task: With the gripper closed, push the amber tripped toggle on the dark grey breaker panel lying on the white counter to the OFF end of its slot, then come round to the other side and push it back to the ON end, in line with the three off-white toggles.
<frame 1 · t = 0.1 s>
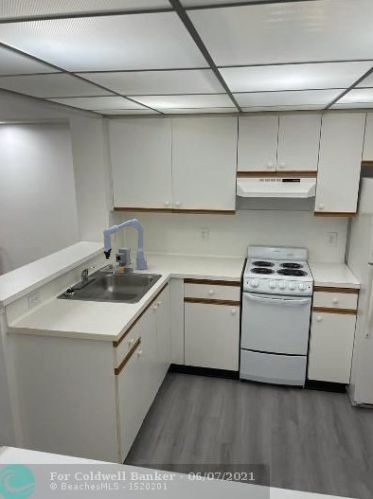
hand: (108, 258, 311), 10 cm above the worktop, fingers open, 7 cm apart
circuit breaker: (123, 265, 326), on the worktop
breaker panel: (123, 272, 304), on the worktop
tripped toggle: (121, 270, 296), point 4 cm above the worktop, slide at 3.5 cm
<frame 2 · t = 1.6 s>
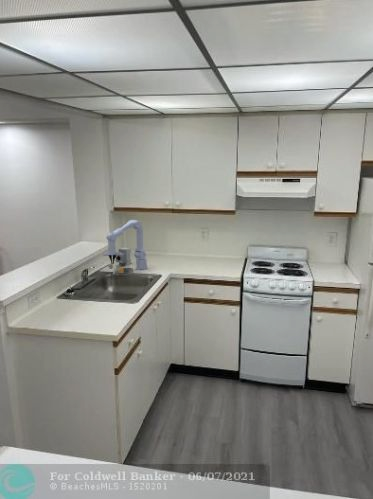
hand: (112, 263, 294), 9 cm above the worktop, fingers closed
nothing on the worktop moved.
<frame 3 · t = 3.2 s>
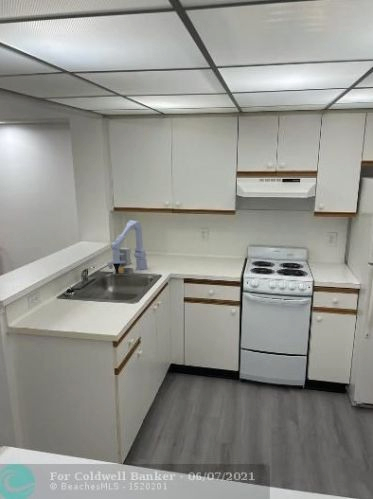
hand: (116, 272, 296), 2 cm above the worktop, fingers closed
tripped toggle: (121, 270, 296), point 4 cm above the worktop, slide at 3.5 cm, touching gripper
everything else where it was.
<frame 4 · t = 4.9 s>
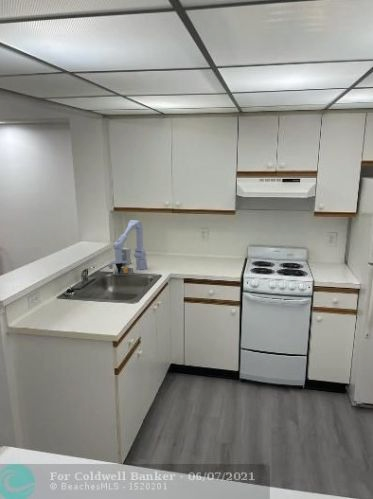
hand: (119, 272, 296), 2 cm above the worktop, fingers closed
tripped toggle: (125, 270, 297), point 4 cm above the worktop, slide at 0.0 cm
everything else where it was.
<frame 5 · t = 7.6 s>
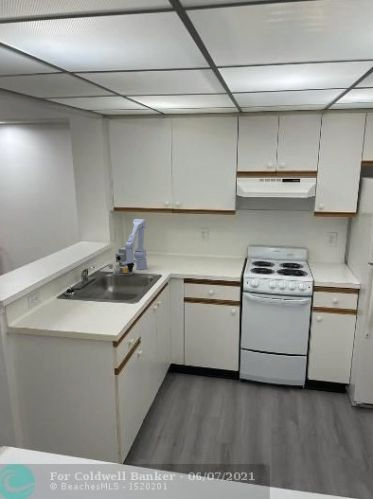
hand: (130, 271, 298), 2 cm above the worktop, fingers closed
tripped toggle: (125, 270, 297), point 4 cm above the worktop, slide at 0.3 cm, touching gripper
everything else where it was.
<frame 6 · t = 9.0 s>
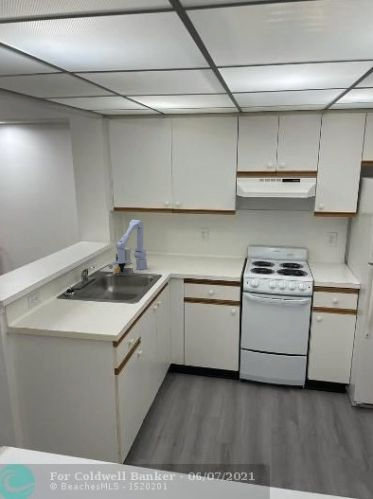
hand: (121, 272, 297), 2 cm above the worktop, fingers closed
tripped toggle: (117, 270, 296), point 4 cm above the worktop, slide at 7.1 cm, touching gripper
everything else where it was.
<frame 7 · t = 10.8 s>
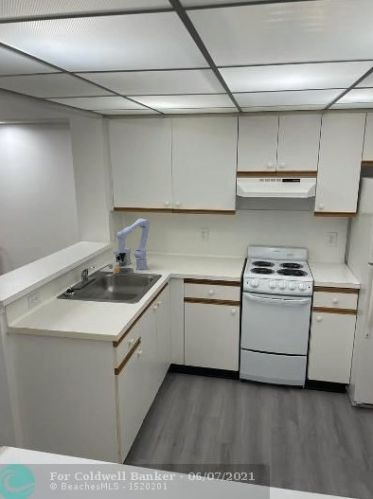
hand: (122, 261, 300), 10 cm above the worktop, fingers closed
tripped toggle: (117, 270, 296), point 4 cm above the worktop, slide at 7.0 cm
everything else where it was.
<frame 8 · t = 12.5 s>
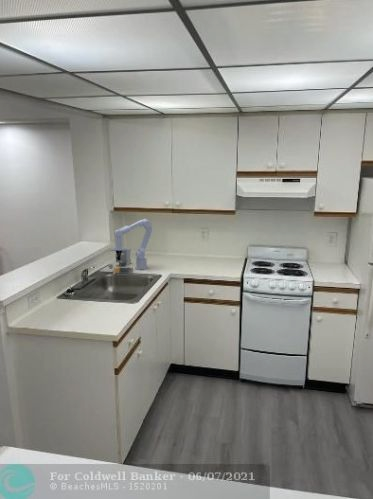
hand: (119, 259, 308), 10 cm above the worktop, fingers closed
nothing on the worktop moved.
at the end: tripped toggle slide at 7.0 cm; tripped toggle touching nothing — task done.
